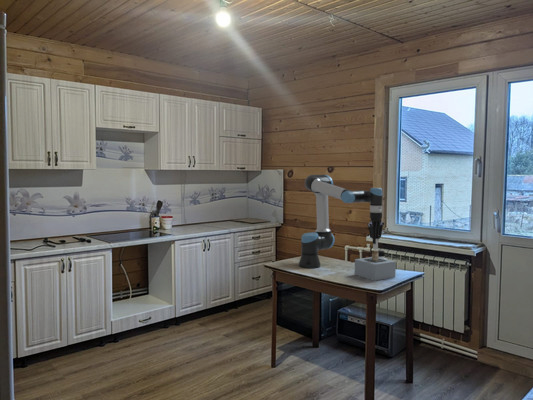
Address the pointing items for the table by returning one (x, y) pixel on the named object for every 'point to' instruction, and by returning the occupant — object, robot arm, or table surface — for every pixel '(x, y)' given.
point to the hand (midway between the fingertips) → (375, 248)
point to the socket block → (375, 268)
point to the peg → (375, 255)
